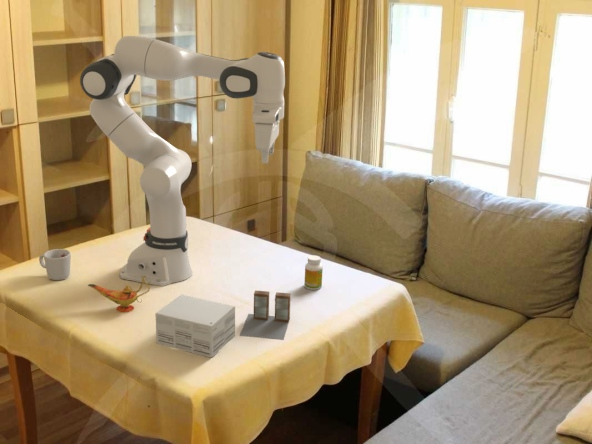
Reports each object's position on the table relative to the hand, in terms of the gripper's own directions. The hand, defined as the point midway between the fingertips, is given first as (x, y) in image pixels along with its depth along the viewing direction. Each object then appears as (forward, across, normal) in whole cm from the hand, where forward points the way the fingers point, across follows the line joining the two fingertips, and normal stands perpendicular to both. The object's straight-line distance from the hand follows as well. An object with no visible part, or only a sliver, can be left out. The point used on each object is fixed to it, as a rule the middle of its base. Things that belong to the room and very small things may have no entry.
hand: (267, 158), depth 218 cm
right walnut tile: (+41, +21, +8) cm, 47 cm away
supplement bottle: (+42, -4, +14) cm, 44 cm away
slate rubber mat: (+41, +25, +4) cm, 49 cm away
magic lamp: (+41, +21, -39) cm, 61 cm away
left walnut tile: (+41, +21, +2) cm, 46 cm away
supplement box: (+42, +35, -13) cm, 56 cm away
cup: (+41, +4, -66) cm, 78 cm away
